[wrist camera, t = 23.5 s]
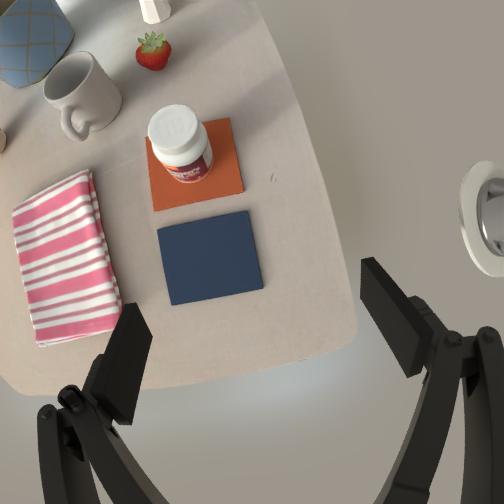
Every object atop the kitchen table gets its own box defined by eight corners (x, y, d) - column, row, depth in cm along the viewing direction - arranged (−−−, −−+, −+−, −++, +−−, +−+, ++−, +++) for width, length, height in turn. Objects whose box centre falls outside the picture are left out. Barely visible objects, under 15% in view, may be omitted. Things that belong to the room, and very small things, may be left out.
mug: (81, 93, 37) (50, 61, 26) (125, 82, 37) (100, 42, 26) (71, 157, 37) (30, 132, 26) (117, 147, 37) (82, 116, 26)
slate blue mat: (247, 211, 37) (247, 210, 37) (263, 288, 37) (263, 288, 37) (157, 230, 37) (156, 229, 36) (172, 305, 37) (171, 305, 36)
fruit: (181, 70, 38) (171, 38, 30) (150, 86, 37) (135, 57, 29) (169, 52, 38) (158, 21, 30) (140, 67, 37) (125, 38, 30)
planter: (-2, 89, 37) (-52, 53, 17) (44, 25, 37) (8, -20, 17) (39, 97, 37) (-22, 47, 17) (94, 23, 38) (57, -38, 18)
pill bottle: (168, 185, 37) (139, 157, 25) (170, 142, 37) (145, 103, 25) (214, 183, 37) (201, 152, 25) (214, 139, 37) (204, 97, 26)
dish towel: (48, 344, 36) (35, 350, 33) (18, 207, 36) (5, 204, 33) (132, 324, 37) (122, 330, 33) (94, 167, 37) (83, 160, 33)
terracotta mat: (229, 119, 38) (228, 117, 37) (243, 192, 37) (243, 191, 37) (146, 138, 37) (145, 136, 37) (155, 211, 37) (154, 211, 37)
